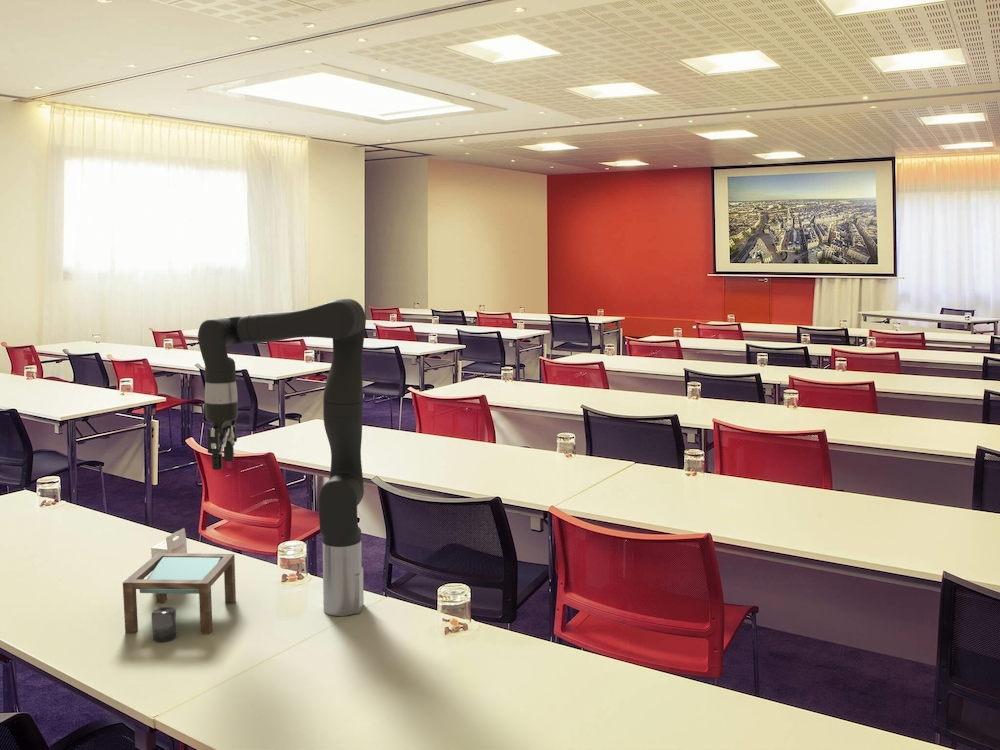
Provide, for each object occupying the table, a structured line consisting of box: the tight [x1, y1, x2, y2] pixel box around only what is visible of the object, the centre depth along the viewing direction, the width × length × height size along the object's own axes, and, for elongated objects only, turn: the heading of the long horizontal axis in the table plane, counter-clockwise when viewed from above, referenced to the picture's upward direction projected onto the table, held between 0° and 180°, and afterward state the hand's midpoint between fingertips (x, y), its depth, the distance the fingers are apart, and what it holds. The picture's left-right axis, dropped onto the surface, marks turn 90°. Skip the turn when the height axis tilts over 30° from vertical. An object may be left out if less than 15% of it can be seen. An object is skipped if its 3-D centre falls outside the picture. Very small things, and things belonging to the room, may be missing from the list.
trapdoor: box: [138, 557, 221, 595], centre depth 193 cm, size 14×14×1 cm
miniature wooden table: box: [122, 552, 237, 635], centre depth 194 cm, size 19×19×12 cm
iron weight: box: [151, 607, 178, 643], centre depth 183 cm, size 5×5×6 cm
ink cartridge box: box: [150, 527, 188, 558], centre depth 211 cm, size 9×5×15 cm, turn 168°
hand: (223, 465), depth 201 cm, fingers open, 8 cm apart
